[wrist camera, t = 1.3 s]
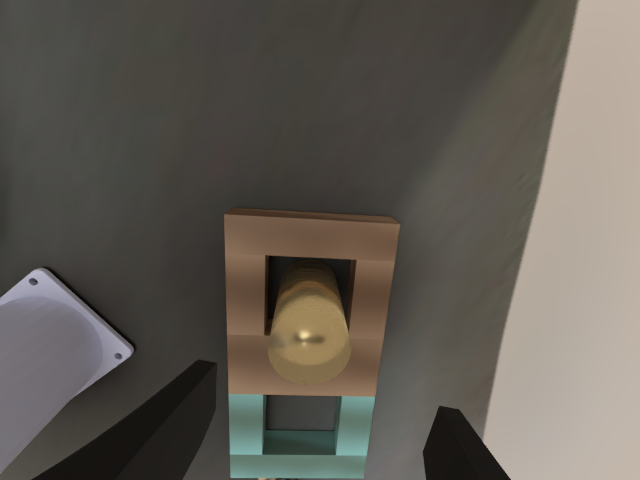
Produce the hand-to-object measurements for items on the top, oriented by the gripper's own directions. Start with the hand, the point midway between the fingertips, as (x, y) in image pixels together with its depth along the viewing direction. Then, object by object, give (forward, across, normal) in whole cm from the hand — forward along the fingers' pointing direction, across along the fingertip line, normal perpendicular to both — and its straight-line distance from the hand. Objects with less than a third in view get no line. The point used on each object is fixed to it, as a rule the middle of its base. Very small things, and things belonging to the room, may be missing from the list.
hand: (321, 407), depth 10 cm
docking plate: (+10, +1, +6) cm, 12 cm away
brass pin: (+11, +2, +2) cm, 11 cm away
